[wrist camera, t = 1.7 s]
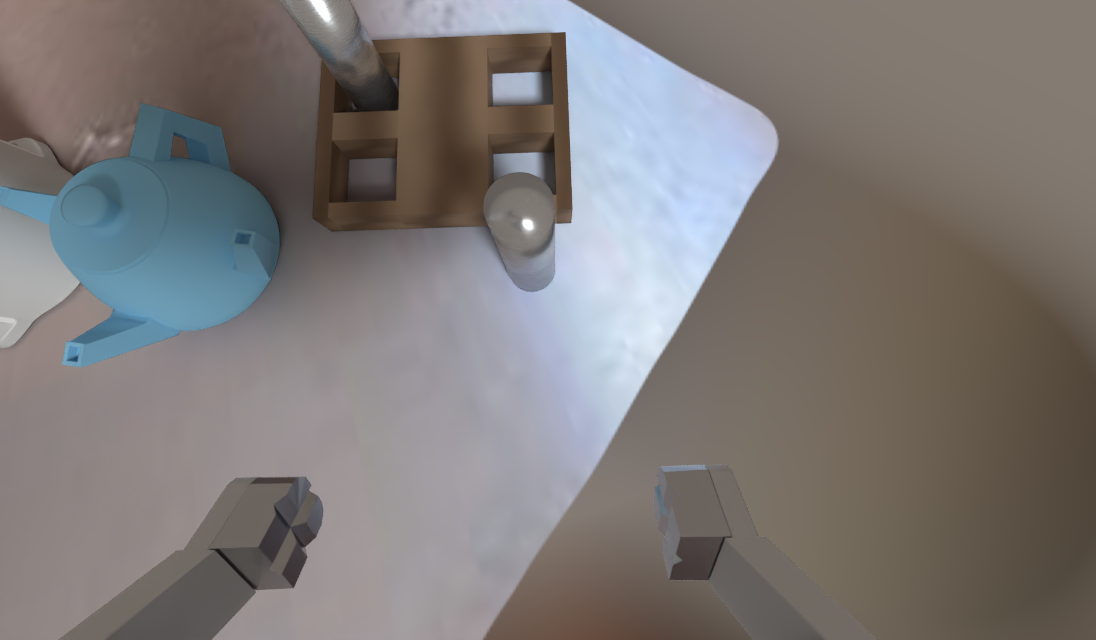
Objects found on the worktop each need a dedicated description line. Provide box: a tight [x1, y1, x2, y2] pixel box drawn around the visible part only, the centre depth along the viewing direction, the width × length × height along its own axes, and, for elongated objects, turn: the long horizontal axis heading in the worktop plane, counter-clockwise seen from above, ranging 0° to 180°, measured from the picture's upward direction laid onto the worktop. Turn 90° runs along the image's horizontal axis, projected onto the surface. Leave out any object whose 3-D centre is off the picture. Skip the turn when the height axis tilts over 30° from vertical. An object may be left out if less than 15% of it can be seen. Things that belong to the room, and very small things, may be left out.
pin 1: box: [280, 0, 399, 112], centre depth 33 cm, size 4×4×13 cm
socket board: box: [313, 32, 572, 231], centre depth 38 cm, size 21×16×3 cm
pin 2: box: [483, 172, 555, 292], centre depth 31 cm, size 4×4×13 cm
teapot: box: [0, 103, 280, 367], centre depth 33 cm, size 15×15×11 cm
